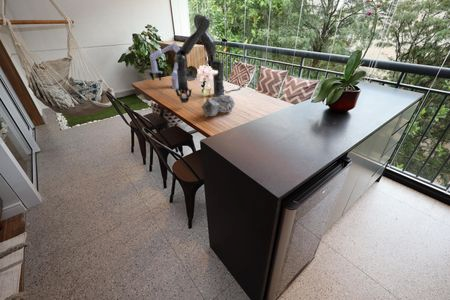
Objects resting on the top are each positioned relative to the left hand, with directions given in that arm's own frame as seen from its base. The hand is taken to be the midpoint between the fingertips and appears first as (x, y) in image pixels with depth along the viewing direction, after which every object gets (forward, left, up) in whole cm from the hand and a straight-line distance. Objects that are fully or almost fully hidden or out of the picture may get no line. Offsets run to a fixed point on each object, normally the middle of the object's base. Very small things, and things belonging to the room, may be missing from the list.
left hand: (156, 80), depth 217 cm
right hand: (+62, +25, -3) cm, 67 cm away
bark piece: (-40, +36, -9) cm, 55 cm away
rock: (+81, +51, -9) cm, 96 cm away
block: (+62, +25, -3) cm, 67 cm away
